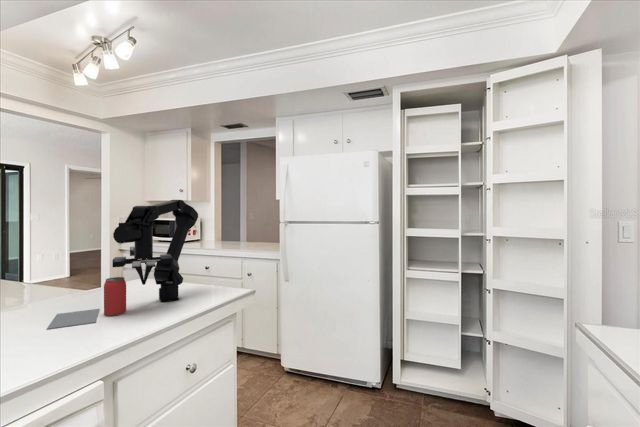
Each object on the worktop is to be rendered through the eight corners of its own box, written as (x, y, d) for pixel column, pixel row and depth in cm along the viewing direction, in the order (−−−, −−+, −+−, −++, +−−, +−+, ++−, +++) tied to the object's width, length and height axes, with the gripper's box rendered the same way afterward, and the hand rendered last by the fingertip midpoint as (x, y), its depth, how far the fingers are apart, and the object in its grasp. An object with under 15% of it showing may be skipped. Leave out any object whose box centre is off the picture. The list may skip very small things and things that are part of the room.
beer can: (115, 317, 108) (115, 281, 108) (98, 315, 110) (98, 280, 110) (130, 311, 115) (130, 277, 115) (114, 310, 116) (114, 276, 116)
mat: (99, 309, 117) (99, 308, 117) (95, 322, 103) (95, 321, 103) (57, 314, 111) (57, 313, 111) (46, 329, 97) (46, 328, 97)
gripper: (169, 238, 128) (169, 277, 128) (113, 240, 119) (113, 282, 119) (173, 240, 119) (173, 283, 119) (112, 242, 109) (112, 289, 109)
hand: (143, 284), depth 117 cm, fingers closed
